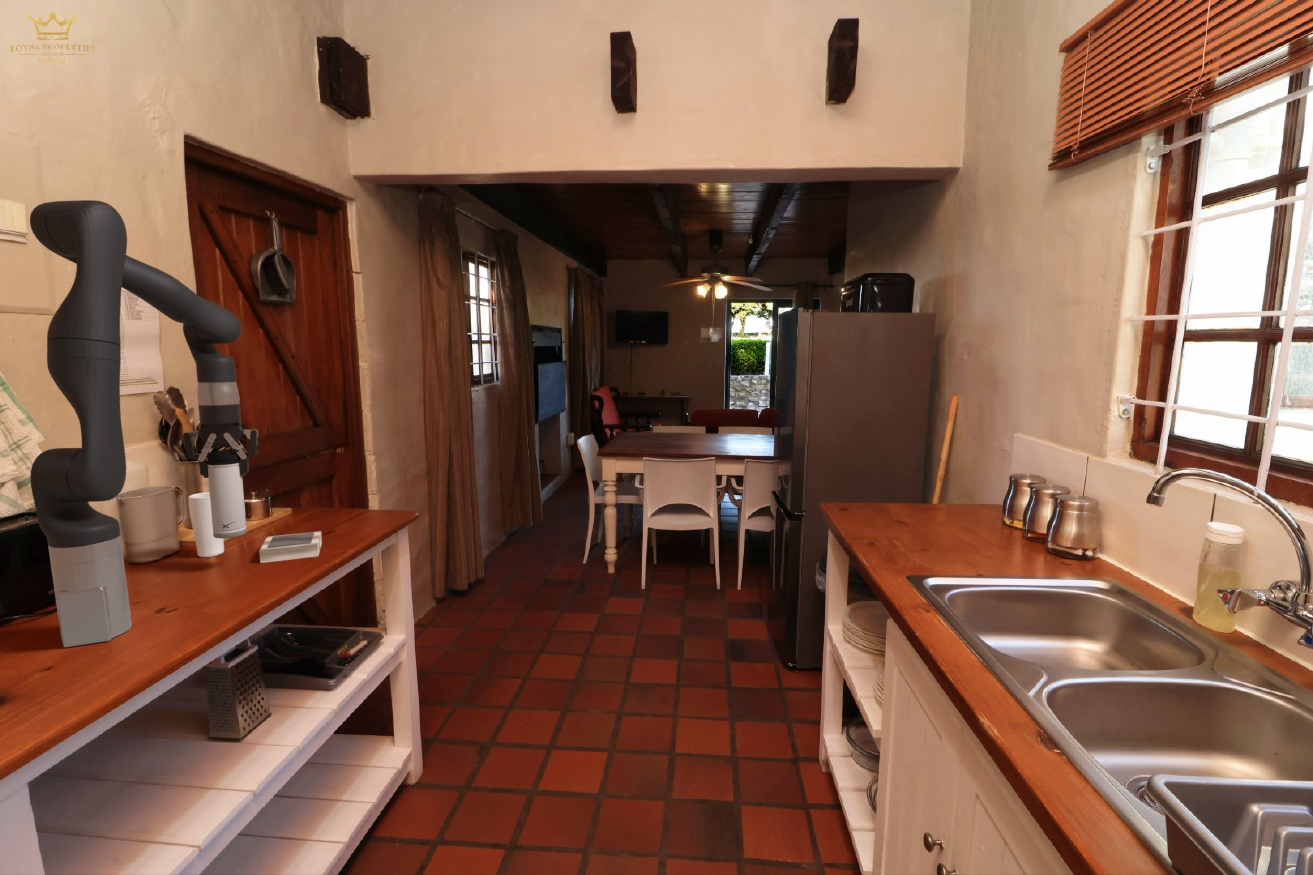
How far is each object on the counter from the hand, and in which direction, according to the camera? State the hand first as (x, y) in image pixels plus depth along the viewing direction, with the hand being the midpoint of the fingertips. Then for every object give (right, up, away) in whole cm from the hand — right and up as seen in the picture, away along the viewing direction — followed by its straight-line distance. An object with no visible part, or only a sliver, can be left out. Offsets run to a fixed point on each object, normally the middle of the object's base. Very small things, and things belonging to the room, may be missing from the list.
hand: (225, 476), depth 138 cm
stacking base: (+7, -20, +14) cm, 25 cm away
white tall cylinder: (-12, -20, +12) cm, 26 cm away
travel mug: (0, -14, +2) cm, 14 cm away
